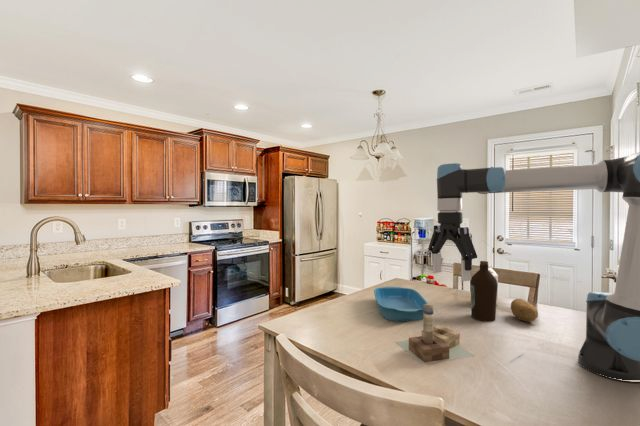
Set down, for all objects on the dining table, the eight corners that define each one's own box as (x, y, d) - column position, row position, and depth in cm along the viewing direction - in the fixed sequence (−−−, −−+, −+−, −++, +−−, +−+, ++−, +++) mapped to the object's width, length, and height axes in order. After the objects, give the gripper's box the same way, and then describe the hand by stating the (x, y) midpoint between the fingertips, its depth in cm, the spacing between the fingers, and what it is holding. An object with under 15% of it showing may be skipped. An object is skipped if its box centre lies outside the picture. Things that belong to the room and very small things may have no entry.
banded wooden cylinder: (434, 355, 101) (435, 306, 101) (426, 356, 100) (427, 307, 100) (429, 351, 104) (429, 303, 104) (421, 352, 103) (421, 304, 103)
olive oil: (495, 315, 141) (496, 260, 140) (498, 323, 131) (499, 264, 130) (469, 312, 145) (470, 258, 144) (470, 319, 135) (470, 262, 135)
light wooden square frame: (459, 344, 109) (459, 332, 109) (444, 351, 104) (444, 339, 104) (436, 335, 117) (436, 324, 116) (421, 341, 111) (421, 330, 111)
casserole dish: (435, 327, 128) (435, 309, 128) (380, 325, 130) (380, 308, 129) (414, 299, 165) (414, 286, 165) (371, 299, 166) (371, 285, 166)
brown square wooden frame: (449, 358, 99) (449, 346, 99) (424, 362, 97) (424, 349, 96) (431, 346, 108) (432, 334, 107) (408, 349, 105) (408, 337, 105)
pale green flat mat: (475, 359, 101) (475, 355, 101) (421, 367, 96) (421, 364, 96) (443, 338, 116) (443, 335, 116) (395, 345, 111) (395, 341, 111)
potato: (518, 325, 130) (518, 306, 129) (505, 313, 143) (505, 296, 143) (544, 327, 128) (545, 307, 127) (529, 315, 141) (529, 297, 141)
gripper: (489, 211, 92) (490, 283, 92) (435, 211, 115) (436, 268, 116) (468, 212, 89) (469, 286, 90) (417, 211, 113) (418, 270, 114)
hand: (450, 276), depth 103 cm, fingers open, 13 cm apart
